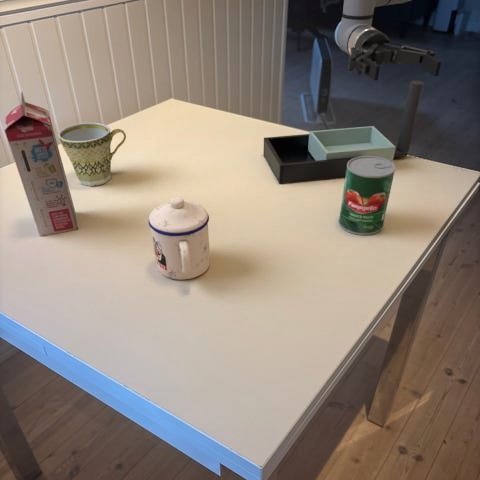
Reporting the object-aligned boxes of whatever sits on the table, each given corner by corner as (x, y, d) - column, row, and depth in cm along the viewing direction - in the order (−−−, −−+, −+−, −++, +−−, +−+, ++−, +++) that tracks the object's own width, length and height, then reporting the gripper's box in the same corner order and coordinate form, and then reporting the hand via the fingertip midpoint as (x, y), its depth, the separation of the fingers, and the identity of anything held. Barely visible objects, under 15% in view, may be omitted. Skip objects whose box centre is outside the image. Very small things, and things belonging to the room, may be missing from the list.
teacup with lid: (153, 252, 82) (143, 188, 74) (207, 246, 83) (202, 182, 75) (159, 296, 73) (149, 229, 65) (219, 288, 74) (215, 221, 67)
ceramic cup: (75, 194, 98) (62, 145, 91) (66, 174, 105) (54, 127, 98) (138, 181, 102) (130, 133, 95) (126, 163, 108) (118, 117, 102)
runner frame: (338, 148, 113) (341, 131, 111) (362, 176, 102) (365, 157, 100) (263, 155, 111) (263, 137, 108) (279, 184, 100) (280, 165, 97)
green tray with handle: (396, 142, 113) (410, 73, 104) (419, 163, 105) (437, 91, 95) (307, 149, 111) (313, 80, 101) (324, 172, 102) (332, 99, 92)
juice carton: (75, 212, 92) (42, 89, 78) (78, 229, 88) (43, 102, 73) (39, 217, 91) (-2, 93, 76) (39, 236, 86) (-4, 107, 71)
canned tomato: (346, 237, 85) (355, 177, 77) (333, 214, 91) (340, 157, 83) (389, 233, 86) (403, 174, 78) (374, 211, 91) (385, 154, 84)
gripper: (414, 60, 122) (457, 86, 106) (318, 67, 118) (348, 94, 103) (421, 26, 117) (468, 47, 101) (321, 32, 113) (353, 54, 98)
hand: (408, 71), depth 102 cm, fingers open, 13 cm apart
